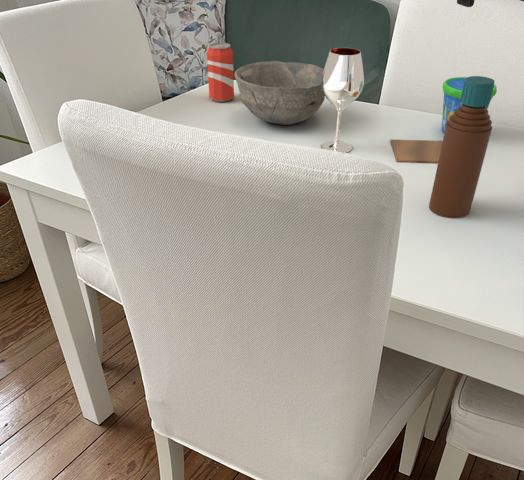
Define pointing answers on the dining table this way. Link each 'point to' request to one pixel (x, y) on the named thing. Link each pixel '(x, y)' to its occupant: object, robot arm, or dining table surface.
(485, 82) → the cap
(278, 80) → the bowl
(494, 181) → the dining table surface
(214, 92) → the beverage can
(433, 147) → the coaster
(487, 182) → the dining table surface
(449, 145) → the bottle
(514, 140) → the dining table surface
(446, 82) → the snack cup
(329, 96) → the wineglass
